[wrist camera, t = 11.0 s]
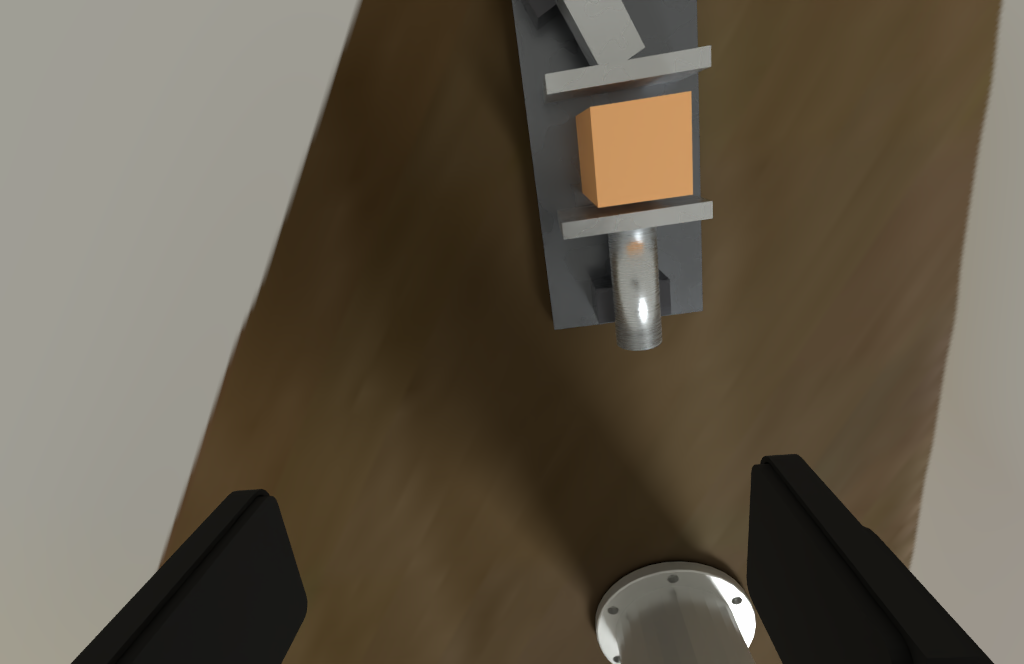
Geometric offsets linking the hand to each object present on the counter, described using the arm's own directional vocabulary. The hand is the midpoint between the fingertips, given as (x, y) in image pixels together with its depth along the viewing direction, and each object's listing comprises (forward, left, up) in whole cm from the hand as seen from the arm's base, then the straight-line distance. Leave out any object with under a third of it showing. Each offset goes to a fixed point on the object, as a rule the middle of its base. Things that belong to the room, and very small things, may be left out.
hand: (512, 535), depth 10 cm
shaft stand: (+6, -6, -23) cm, 24 cm away
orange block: (+6, -6, -21) cm, 23 cm away
